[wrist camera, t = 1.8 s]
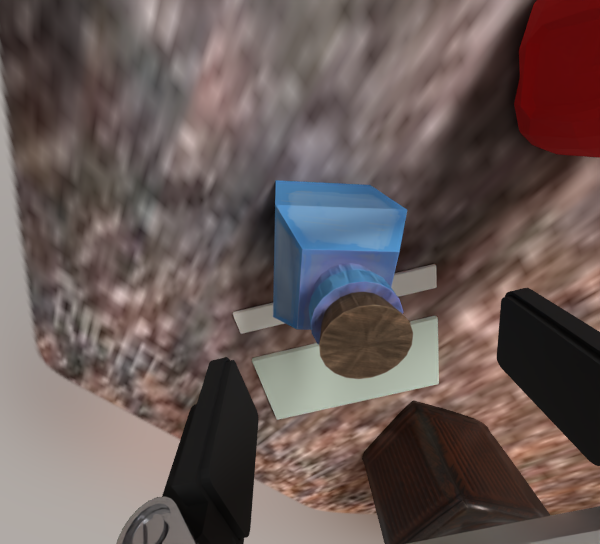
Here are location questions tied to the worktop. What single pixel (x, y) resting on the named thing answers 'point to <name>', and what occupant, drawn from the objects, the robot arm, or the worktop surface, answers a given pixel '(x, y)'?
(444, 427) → the dark brown coffee grinder
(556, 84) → the water bottle
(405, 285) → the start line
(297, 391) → the mat
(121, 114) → the worktop surface
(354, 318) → the perfume bottle
